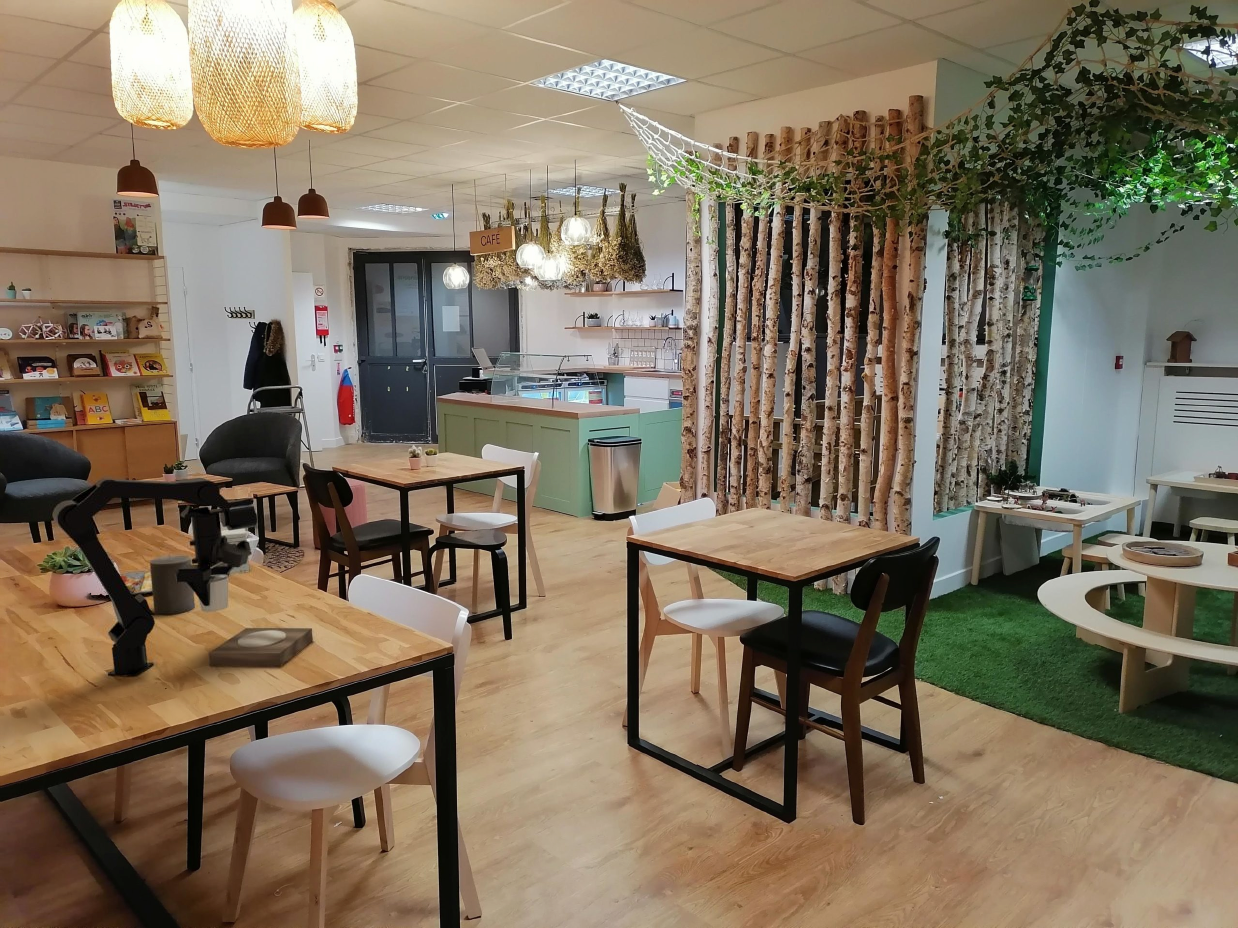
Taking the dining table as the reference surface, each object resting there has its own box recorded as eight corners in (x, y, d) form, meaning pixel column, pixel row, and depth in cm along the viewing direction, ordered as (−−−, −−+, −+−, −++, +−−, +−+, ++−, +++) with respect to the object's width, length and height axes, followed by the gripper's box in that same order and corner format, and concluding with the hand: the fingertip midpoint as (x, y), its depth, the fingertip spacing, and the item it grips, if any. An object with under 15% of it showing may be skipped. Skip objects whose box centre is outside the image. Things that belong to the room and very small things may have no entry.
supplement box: (223, 570, 267) (219, 530, 265) (249, 566, 270) (245, 527, 268) (223, 575, 260) (219, 535, 258) (249, 572, 263) (246, 532, 261)
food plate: (100, 581, 257) (99, 569, 257) (186, 572, 265) (185, 561, 265) (81, 606, 234) (80, 594, 233) (176, 596, 242) (175, 584, 242)
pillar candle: (157, 617, 221) (152, 560, 219) (151, 608, 229) (146, 553, 227) (198, 610, 227) (194, 555, 225) (191, 601, 235) (187, 548, 232)
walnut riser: (280, 666, 185) (279, 650, 185) (209, 665, 187) (208, 650, 186) (312, 640, 201) (311, 626, 201) (247, 640, 202) (246, 625, 202)
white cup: (219, 612, 191) (215, 582, 190) (191, 612, 192) (188, 581, 191) (237, 603, 198) (234, 573, 197) (210, 602, 199) (207, 573, 198)
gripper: (221, 543, 183) (228, 614, 185) (261, 524, 201) (267, 588, 204) (170, 544, 183) (178, 614, 186) (215, 525, 202) (222, 589, 204)
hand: (214, 601), depth 195 cm, fingers closed on white cup, 6 cm apart
